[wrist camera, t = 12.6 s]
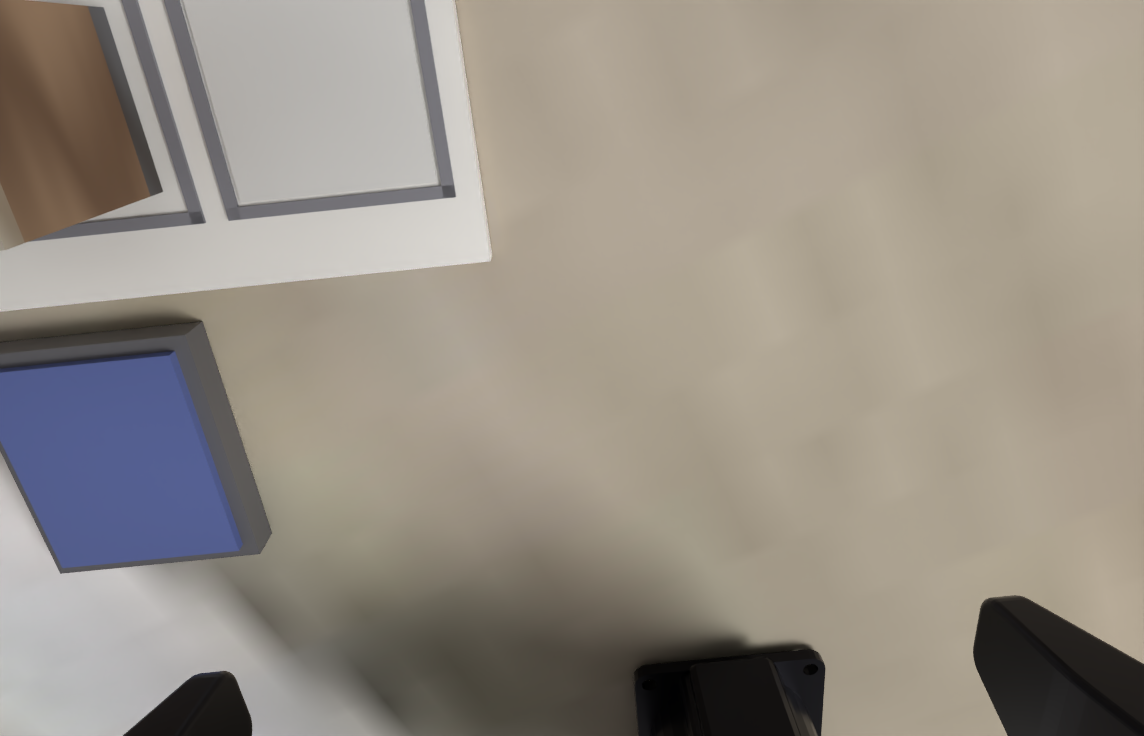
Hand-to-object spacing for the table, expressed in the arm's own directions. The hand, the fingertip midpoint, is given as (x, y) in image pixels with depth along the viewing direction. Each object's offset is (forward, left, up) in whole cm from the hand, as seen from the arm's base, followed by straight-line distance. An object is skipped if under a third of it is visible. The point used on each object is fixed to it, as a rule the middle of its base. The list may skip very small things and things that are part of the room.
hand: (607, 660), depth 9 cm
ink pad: (-3, +13, -12) cm, 18 cm away
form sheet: (+6, +8, -12) cm, 16 cm away
